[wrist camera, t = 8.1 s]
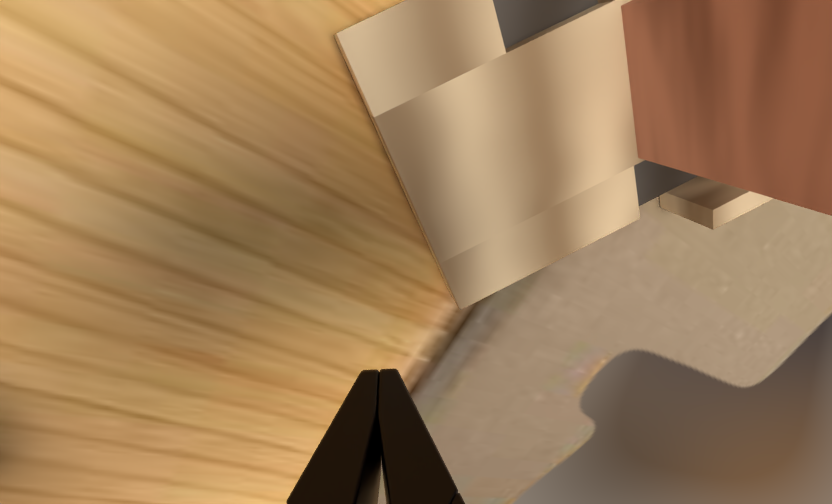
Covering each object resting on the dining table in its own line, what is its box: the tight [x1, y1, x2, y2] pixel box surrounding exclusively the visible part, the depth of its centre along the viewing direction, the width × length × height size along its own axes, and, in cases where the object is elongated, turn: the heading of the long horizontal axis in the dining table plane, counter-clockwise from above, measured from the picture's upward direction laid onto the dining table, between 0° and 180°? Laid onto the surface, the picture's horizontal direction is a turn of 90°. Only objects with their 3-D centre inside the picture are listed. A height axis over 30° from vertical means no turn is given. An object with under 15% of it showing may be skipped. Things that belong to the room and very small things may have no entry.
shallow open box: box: [334, 0, 774, 310], centre depth 18 cm, size 25×16×4 cm, turn 113°
